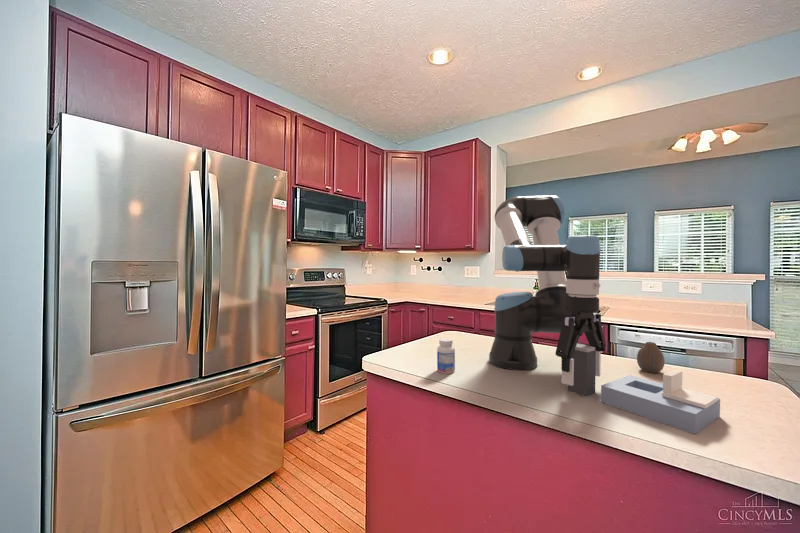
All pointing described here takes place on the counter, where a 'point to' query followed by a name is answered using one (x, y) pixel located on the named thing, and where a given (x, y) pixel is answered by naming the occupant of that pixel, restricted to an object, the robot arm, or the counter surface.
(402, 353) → the counter surface
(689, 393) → the shutter
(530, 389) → the counter surface
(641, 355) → the vase
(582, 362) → the plug
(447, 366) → the pill bottle
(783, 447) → the counter surface
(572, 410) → the counter surface
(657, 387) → the socket board
